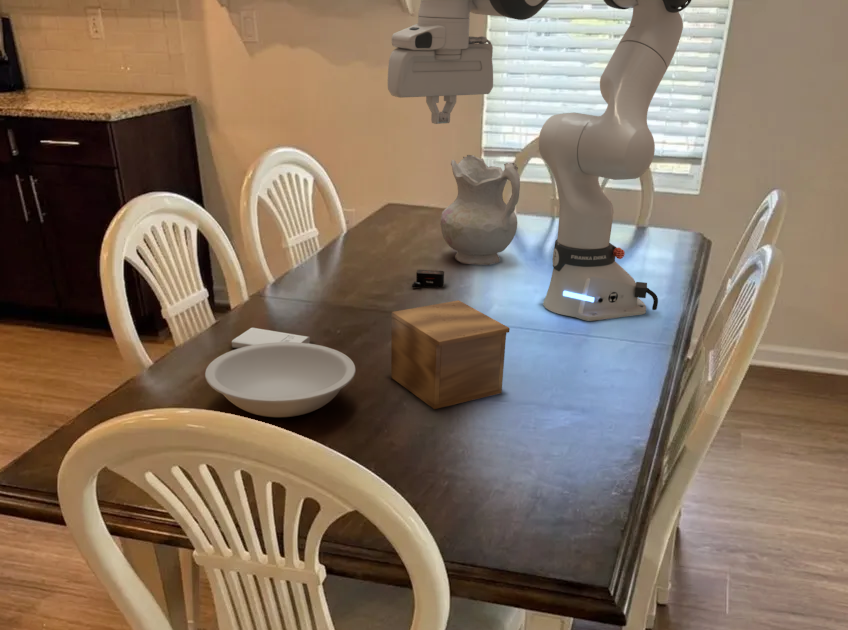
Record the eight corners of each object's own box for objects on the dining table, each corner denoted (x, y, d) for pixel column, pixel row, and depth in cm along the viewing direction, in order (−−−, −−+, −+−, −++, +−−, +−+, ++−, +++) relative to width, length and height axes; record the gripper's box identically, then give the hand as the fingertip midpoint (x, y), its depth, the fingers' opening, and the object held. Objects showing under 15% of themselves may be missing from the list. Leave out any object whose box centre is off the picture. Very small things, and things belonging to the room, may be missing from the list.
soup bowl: (292, 454, 127) (290, 414, 123) (177, 413, 137) (172, 375, 134) (384, 398, 144) (384, 362, 141) (276, 366, 155) (273, 331, 151)
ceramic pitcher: (534, 263, 220) (546, 161, 208) (498, 275, 205) (510, 166, 193) (462, 249, 230) (470, 151, 218) (423, 260, 215) (430, 155, 203)
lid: (509, 332, 141) (509, 327, 141) (439, 346, 135) (439, 341, 134) (458, 304, 152) (458, 300, 152) (391, 316, 146) (391, 311, 146)
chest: (501, 393, 148) (506, 330, 142) (434, 409, 141) (436, 344, 135) (455, 363, 158) (458, 304, 152) (391, 377, 152) (391, 316, 146)
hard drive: (253, 334, 168) (310, 343, 165) (232, 348, 161) (291, 358, 158) (252, 326, 167) (309, 335, 164) (231, 340, 161) (290, 349, 157)
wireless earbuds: (413, 283, 199) (413, 269, 198) (443, 284, 199) (444, 270, 197) (411, 289, 195) (411, 275, 194) (442, 290, 195) (443, 276, 193)
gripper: (482, 35, 153) (478, 118, 160) (383, 35, 144) (383, 123, 151) (503, 37, 149) (497, 122, 156) (401, 37, 139) (400, 128, 146)
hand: (440, 123), depth 153 cm, fingers closed
